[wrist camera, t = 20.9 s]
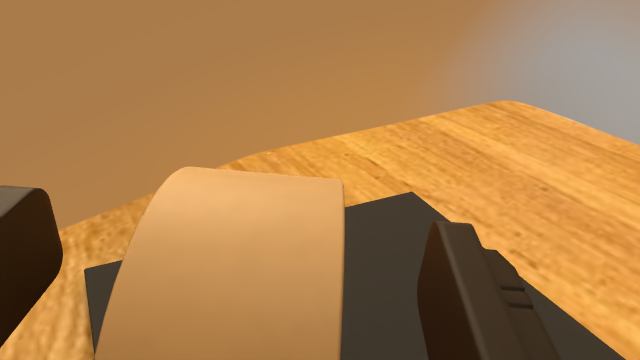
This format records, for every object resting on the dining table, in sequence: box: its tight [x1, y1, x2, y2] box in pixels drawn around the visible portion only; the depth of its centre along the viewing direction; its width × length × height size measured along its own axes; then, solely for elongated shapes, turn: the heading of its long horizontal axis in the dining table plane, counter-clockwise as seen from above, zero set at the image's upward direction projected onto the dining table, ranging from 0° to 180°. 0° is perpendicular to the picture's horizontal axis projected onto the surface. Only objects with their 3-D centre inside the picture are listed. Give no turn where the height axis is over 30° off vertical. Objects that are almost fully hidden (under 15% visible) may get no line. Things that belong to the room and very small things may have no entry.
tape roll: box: [94, 167, 345, 360], centre depth 13 cm, size 4×10×10 cm, turn 178°
